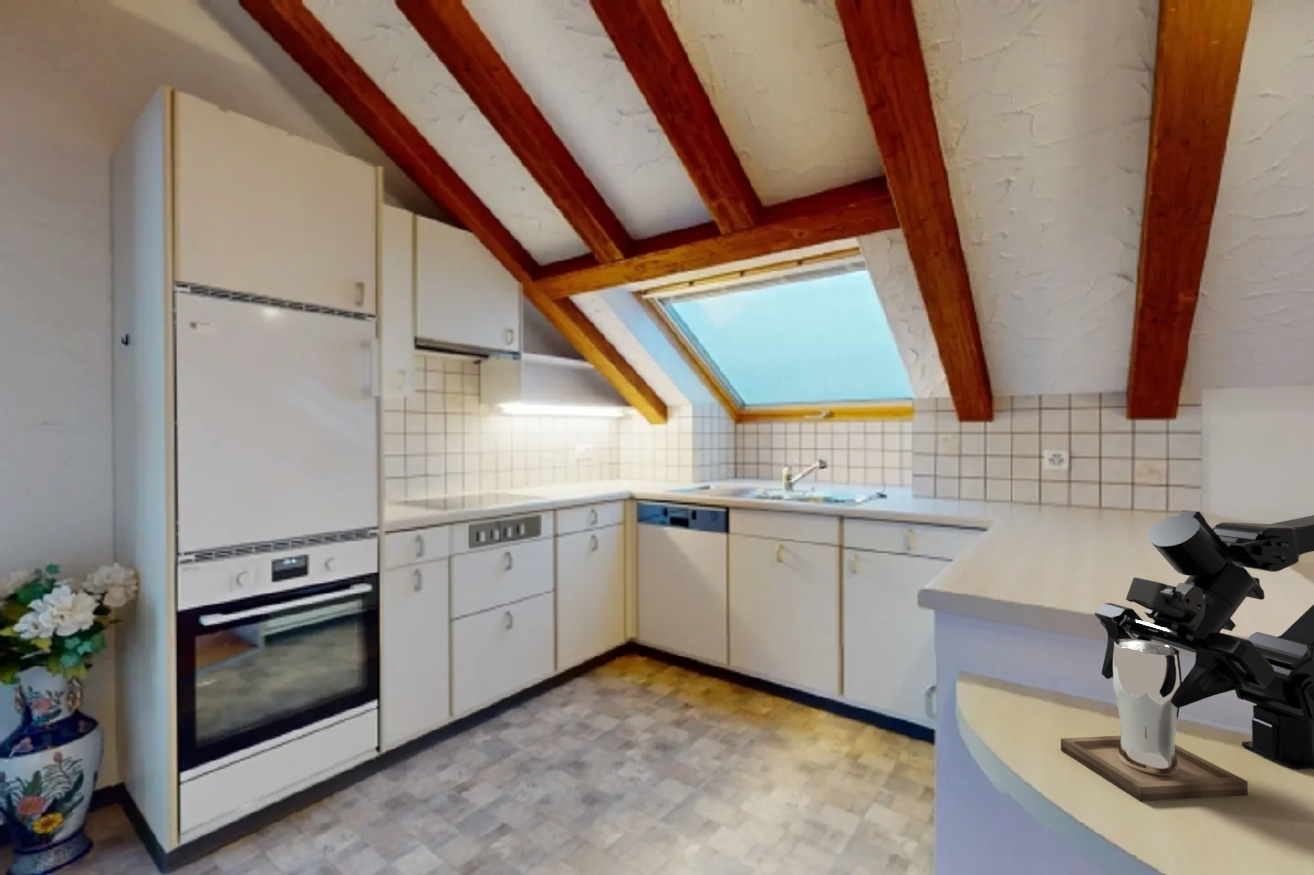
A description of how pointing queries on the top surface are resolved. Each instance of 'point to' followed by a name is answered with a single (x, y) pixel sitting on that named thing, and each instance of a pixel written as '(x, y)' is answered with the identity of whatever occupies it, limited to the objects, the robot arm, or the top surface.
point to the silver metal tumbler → (1147, 704)
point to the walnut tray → (1189, 783)
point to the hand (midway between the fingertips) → (1137, 689)
